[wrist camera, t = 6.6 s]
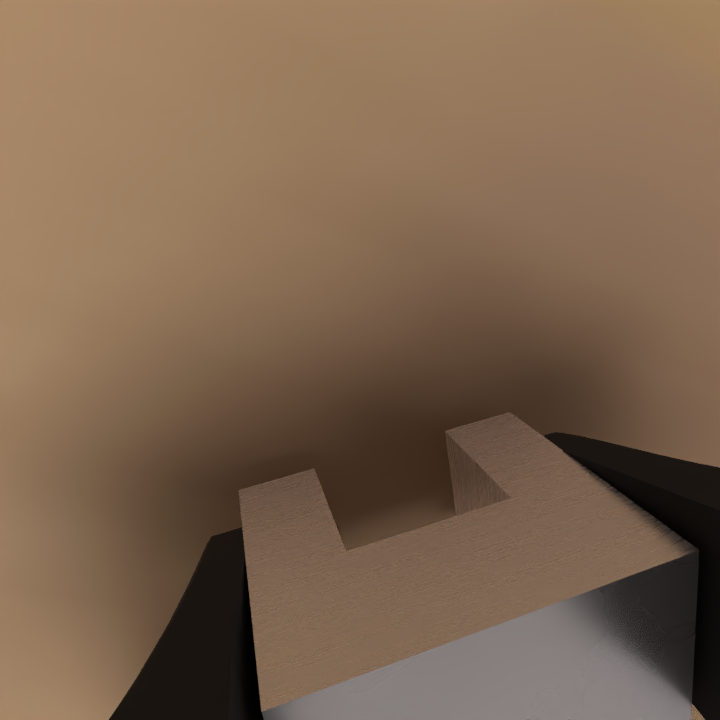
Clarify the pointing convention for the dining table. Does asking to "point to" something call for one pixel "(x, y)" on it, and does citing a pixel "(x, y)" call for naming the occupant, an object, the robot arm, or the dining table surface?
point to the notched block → (474, 597)
